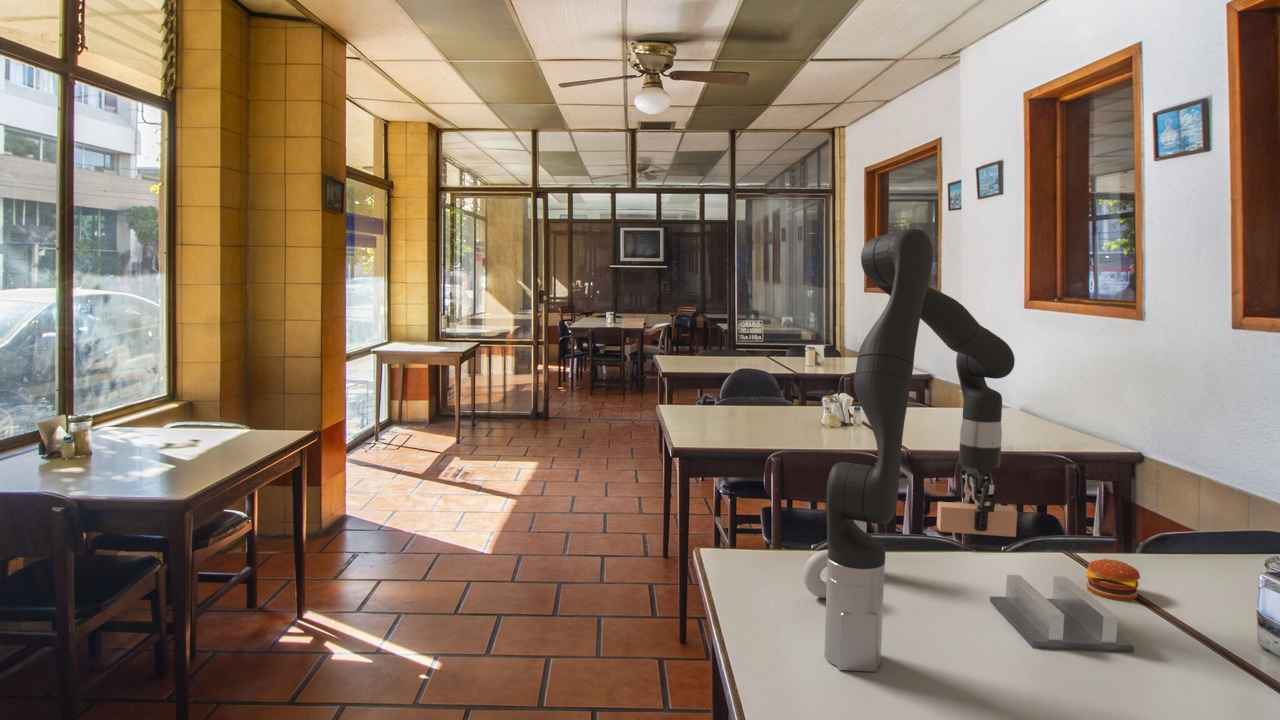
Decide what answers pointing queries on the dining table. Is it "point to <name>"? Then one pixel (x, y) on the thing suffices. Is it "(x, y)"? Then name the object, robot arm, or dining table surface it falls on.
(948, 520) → the clay strip
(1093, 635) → the aluminium rail channel
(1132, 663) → the dining table surface
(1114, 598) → the hamburger
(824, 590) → the donut
